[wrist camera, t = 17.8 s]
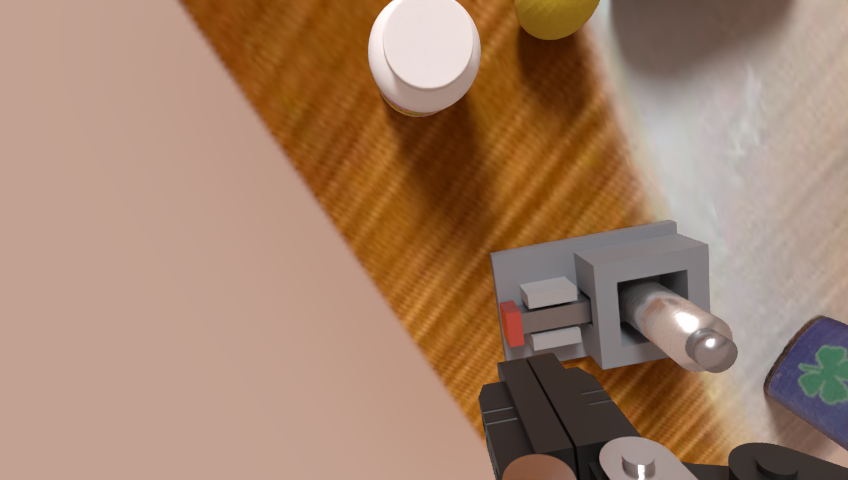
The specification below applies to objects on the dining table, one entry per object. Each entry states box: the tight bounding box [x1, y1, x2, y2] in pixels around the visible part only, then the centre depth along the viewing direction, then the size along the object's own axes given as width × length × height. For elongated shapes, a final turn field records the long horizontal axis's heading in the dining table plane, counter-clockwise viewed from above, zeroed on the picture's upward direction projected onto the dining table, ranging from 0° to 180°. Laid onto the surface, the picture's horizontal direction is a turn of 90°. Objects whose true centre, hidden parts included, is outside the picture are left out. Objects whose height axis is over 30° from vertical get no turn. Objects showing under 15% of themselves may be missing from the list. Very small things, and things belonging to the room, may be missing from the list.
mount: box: [489, 220, 710, 370], centre depth 37 cm, size 16×11×5 cm
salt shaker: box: [617, 277, 738, 373], centre depth 33 cm, size 4×4×12 cm
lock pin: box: [499, 293, 593, 347], centre depth 37 cm, size 9×3×2 cm, turn 100°
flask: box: [763, 315, 848, 451], centre depth 37 cm, size 9×3×11 cm, turn 152°
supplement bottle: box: [368, 0, 481, 117], centre depth 29 cm, size 7×7×13 cm
